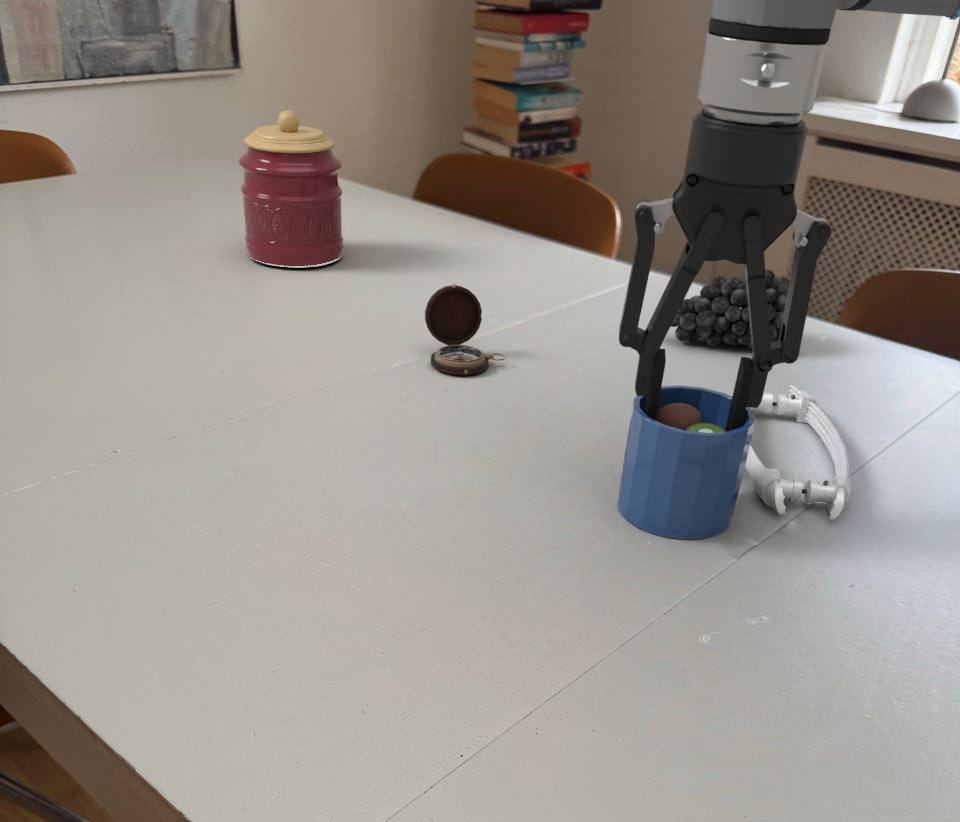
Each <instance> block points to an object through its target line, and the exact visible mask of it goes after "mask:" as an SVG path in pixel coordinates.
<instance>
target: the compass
mask: <svg viewBox="0 0 960 822" xmlns="http://www.w3.org/2000/svg"><path fill="white" fill-rule="evenodd" d="M482 313H483V310H482V306H481V303H480V301H479V299H478V298H477V296H476V295H475V294H474V293H473V292H472V291H471V290H469V289H468V288H466V287H464V286H462V285H456V284H453V283H452V284H451V285H446V286H443V287H440V288H439V289H437V290H436V291H435V292H434V293H433V294H431V296H430V298H429V299H428V301H427V303H426V306H425V310H424V321H425V325H426V328H427V330H428V331H429V333H430V335H431V336H432V337H433V338H434V339H436V340H437V341H438V342H439V343H442V344H443V345H445V346H442V347H440V348H438V349H437V350H436V351H434V352H433V353H431V355H430V364H431V366H433V368H434V369H436V370H437V371H439V372H442V373H445V374H449V375H454V376H469V375H470V376H471V375H472V376H473V375H477V374H480V373H482V372H484V371H486V370H487V368H489V361H491V360H492V361H504V360H505V359H506V356H505V355H504V354H502V353H497V352H496V353H495V352H494V353H493V352H492V353H489V354H485V353H484V352H483V351H481V350H480V349H479V348H477V347H474V346H471V345H466V344H465V343H467V342H468V341H470V340H471V339H472V338H473V337H474V336H475V335H476V334H477V333H478V331H479V329H480V327H481V323H482V321H483V318H482ZM494 356H502V357H503V358H494Z"/></svg>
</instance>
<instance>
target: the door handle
mask: <svg viewBox="0 0 960 822" xmlns="http://www.w3.org/2000/svg"><path fill="white" fill-rule="evenodd" d="M788 394H789V396H787V395H786V394H781V393H778V394H777V396H776V399H775V401H774V394H773V393H772V392H764V393H763V397H762V401H761V403H760V405H759V406H758V408H751V407H749V408H751V409H752V410H753V411H759V412H760V411H761V413H763V414H771V411H772V408H773V407H774V414H775V415H784V414H791V415H794V418H795V421H796V423H802V424H808V425H809V426H810V427H811V428H812V429H813V430H814V431H815V433H816V434H817V436H818V437H819V438H820V440H821V441H822V443H823V444H824V446H825V447H826V449H827V452H828V453H829V455H830V457H831V460H832V463H833V466H834V470H835V475H834V476H833V478H832V479H833V480H832V484H831V483H829V480H826V479H825V480H823V482H822V483H820V482H819V481H818V480H813V479H808V480H807V481H806V484H805V487H804V488H803V479H802V478H791V479H783V478H782V479H781V474H780V472H779V469H774V468H766V467H765V465H764V464H763V463H762V461H761V460H760V459H759V456H758V455H757V454H756V452H755V450H754V448H753V447H752V444H751V443H750V447H749V451H748V455H747V460H746V464H745V468H744V472H745V473H746V474H747V476H748V478H749V479H750V481H751V482H752V486H753V487H752V488H753V491H754V492H755V494H756V495H757V496H758V497H759V498H760V499H761V500H762V502H763V503H764V504H765V505H766V506H768V507H770V508H773V509H774V510H775V511H776V512H777V513H778V514H779V515H782V516H783V515H786V511H785V510H786V509H787V507H786V505H785V504H784V500H788V502H792V503H799V502H800V499H801V497H802V495H803V501H804V504H813V505H814V504H815V503H823V504H826V506H827V508H828V512H829V513H830V514H829V516H828V518H827V519H828V520H830V521H834V520H836V519H837V518H838V517H839V515H840V514H841V513H842V511H843V509H844V508H845V507H846V506H847V504H848V502H849V499H850V497H851V494H852V490H853V484H852V482H851V480H850V463H849V459H848V453H847V451H846V448H845V445H844V442H843V440H842V438H841V435H839V432H838V431H837V429H836V427H835V426H834V425H833V423H832V421H831V419H829V417H828V416H827V415H826V414H825V413H824V411H822V409H821V408H820V407H819V403H818V401H817V400H816V399H815V398H814V397H812V396H811V395H810V394H809V393H808V392H807V391H805V390H800V389H799V388H798V387H796V386H795V385H794V384H790V385H789V389H788Z"/></svg>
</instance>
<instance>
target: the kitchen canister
mask: <svg viewBox="0 0 960 822" xmlns="http://www.w3.org/2000/svg"><path fill="white" fill-rule="evenodd" d="M277 117H278V118H277V124H274V125H273V124H272V125H264V126H259V127H257V128H255V129H254V130H253V132H252V133H250V134H249V135H247V136H246V137H244V138H243V143H244V145H245V146H246V147H247V151H246V152H245V153H244V154H242V155H241V156H240V157H239V159H238V164H239V165H240V167H241V168H242V169H243V184H242V185H241V187H240V192H241V193H242V200H243V211H244V212H243V213H244V227H245V234H244V240H245V248H246V250H247V255H248V254H249V256H250V257H252V258H253V259H255V260H258V261H261V262H264V263H269V264H270V263H271V264H275V265H276V264H277V265H284V266H286V265H287V266H305V265H306V266H308V265H310V266H311V265H317V264H322V263H326V262H330V261H333V260H335V259H338V258H339V257H340V256H341V255H343V250H344V236H343V230H342V229H343V228H342V226H343V225H342V223H343V222H342V195H343V189H342V188H341V187H340V186H339V176H338V172H339V170H340V169H341V168H342V165H343V164H342V161H341V160H340V159H339V158H338V157H337V156H335V155H334V154H333V152H332V149H333V148H334V147H335V141H334V140H333V139H331V138H330V137H328V136H327V135H326V134H325V133H324V132H323V130H321V129H318V128H315V127H312V126H311V127H310V126H305V125H300V119H299V118H298V115H297V113H296V112H294V111H293V110H290V109H288V110H282V111H281V112H280V113H279V114H278V116H277ZM249 256H248V257H249ZM250 257H249V258H250Z"/></svg>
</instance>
